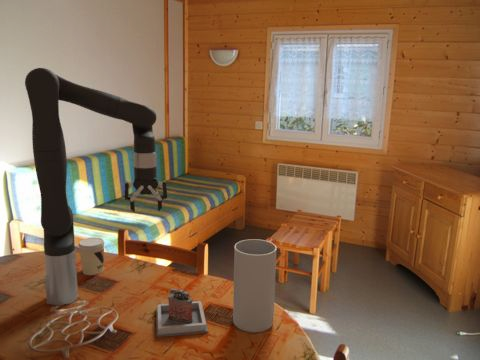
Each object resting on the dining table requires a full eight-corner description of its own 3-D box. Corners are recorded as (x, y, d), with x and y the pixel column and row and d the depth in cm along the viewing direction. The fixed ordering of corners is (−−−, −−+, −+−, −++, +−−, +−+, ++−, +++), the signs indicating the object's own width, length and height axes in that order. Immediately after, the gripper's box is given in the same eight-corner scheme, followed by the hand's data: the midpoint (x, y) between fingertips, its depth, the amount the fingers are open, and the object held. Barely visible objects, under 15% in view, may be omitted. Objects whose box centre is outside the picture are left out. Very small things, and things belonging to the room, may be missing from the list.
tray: (156, 337, 127) (156, 329, 126) (156, 310, 141) (155, 303, 141) (208, 332, 130) (208, 325, 129) (202, 307, 144) (202, 300, 144)
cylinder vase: (233, 311, 142) (235, 238, 136) (272, 312, 142) (275, 239, 136) (231, 333, 130) (233, 254, 124) (274, 334, 130) (277, 256, 124)
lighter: (194, 319, 136) (194, 289, 134) (189, 325, 133) (189, 294, 130) (171, 314, 138) (171, 285, 136) (166, 319, 135) (165, 290, 133)
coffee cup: (101, 276, 164) (99, 246, 161) (76, 275, 164) (74, 245, 161) (109, 266, 173) (107, 237, 170) (85, 265, 173) (83, 236, 170)
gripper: (122, 167, 143) (124, 214, 147) (166, 166, 146) (167, 213, 150) (124, 163, 150) (125, 208, 154) (166, 162, 153) (166, 206, 157)
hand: (146, 210), depth 152 cm, fingers open, 8 cm apart
